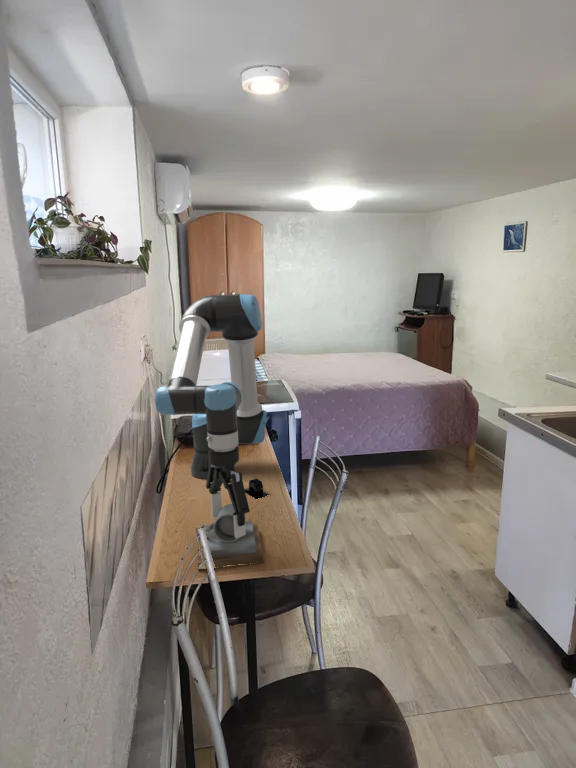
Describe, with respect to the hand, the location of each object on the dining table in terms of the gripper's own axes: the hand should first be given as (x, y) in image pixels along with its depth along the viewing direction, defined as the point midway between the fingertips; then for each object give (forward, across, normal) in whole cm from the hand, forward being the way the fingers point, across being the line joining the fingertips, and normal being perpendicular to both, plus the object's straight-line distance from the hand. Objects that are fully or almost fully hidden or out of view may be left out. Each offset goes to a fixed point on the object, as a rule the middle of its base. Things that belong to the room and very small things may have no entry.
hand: (228, 525), depth 127 cm
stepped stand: (+7, 0, 0) cm, 7 cm away
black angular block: (+8, -25, +23) cm, 35 cm away
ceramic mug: (+3, 0, -1) cm, 3 cm away
